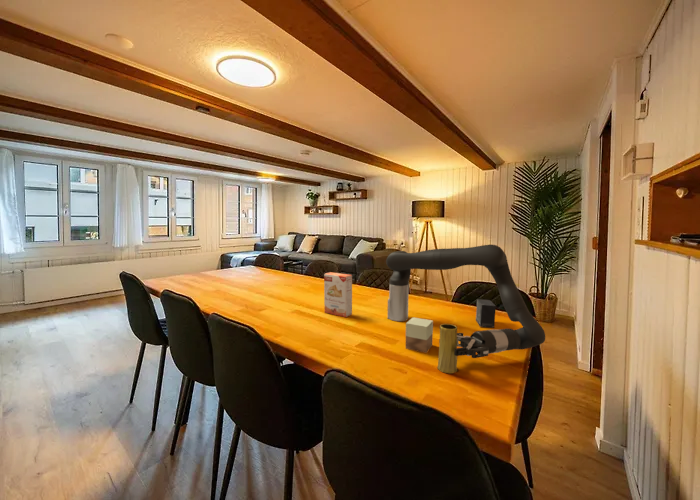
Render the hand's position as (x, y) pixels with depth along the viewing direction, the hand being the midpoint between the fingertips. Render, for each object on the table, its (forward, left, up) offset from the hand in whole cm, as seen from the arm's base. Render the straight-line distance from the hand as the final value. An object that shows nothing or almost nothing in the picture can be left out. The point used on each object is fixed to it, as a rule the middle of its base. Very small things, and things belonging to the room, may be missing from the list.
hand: (447, 346), depth 98 cm
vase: (0, 0, -8) cm, 8 cm away
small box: (+6, +53, -8) cm, 54 cm away
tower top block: (-13, +13, -3) cm, 18 cm away
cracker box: (-62, +33, -8) cm, 71 cm away
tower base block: (-13, +13, -8) cm, 20 cm away
